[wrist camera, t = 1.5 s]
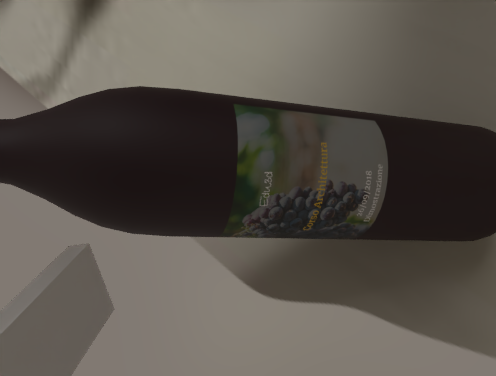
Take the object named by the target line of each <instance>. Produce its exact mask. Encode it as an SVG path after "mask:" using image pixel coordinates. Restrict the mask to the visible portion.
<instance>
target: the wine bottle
mask: <svg viewBox="0 0 496 376" xmlns="http://www.w3.org/2000/svg"><path fill="white" fill-rule="evenodd" d="M0 183H5V184H11V185H14V186H16V187H18V188H21V189H23V190H25V191H28V192H30V193H32V194H34V195H37V196H39V197H41V198H43V199H46V200H47V201H49V202H51V203H53V204H55V205H57V206H58V207H60V208H62V209H64V210H66V211H68V212H70V213H71V214H73V215H75V216H78V217H80V218H82V219H85V220H87V221H90V222H92V223H94V224H97V225H99V226H102V227H106V228H110V229H114V230H119V231H123V232H127V233H132V234H146V235H159V236H189V237H247V238H305V239H363V240H422V241H474V240H478V239H481V238H484V237H488V236H490V235H492V234H494V233H496V133H495V132H493V131H491V130H488V129H485V128H482V127H478V126H470V125H462V124H454V123H446V122H438V121H430V120H422V119H414V118H406V117H398V116H390V115H382V114H374V113H366V112H358V111H350V110H342V109H334V108H326V107H318V106H310V105H302V104H294V103H286V102H278V101H270V100H262V99H254V98H246V97H238V96H230V95H222V94H214V93H206V92H198V91H190V90H182V89H170V88H156V87H141V86H139V87H128V88H117V89H107V90H104V91H100V92H96V93H93V94H89V95H85V96H81V97H78V98H76V99H73V100H71V101H68V102H65V103H63V104H60V105H58V106H55V107H53V108H50V109H47V110H44V111H40V112H37V113H34V114H31V115H27V116H23V117H20V118H16V119H0Z"/></svg>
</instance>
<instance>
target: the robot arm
mask: <svg viewBox="0 0 496 376" xmlns="http://www.w3.org/2000/svg"><path fill="white" fill-rule="evenodd" d="M113 310H114V307H113V304H112V301H111V299H110V297H109V294H108V292H107V289H106V286H105V283H104V281H103V278H102V276H101V273H100V271H99V268H98V265H97V263H96V260H95V258H94V255H93V253H92V250H91V248H90V245H89V244H81V245H74V246H68V248H66V249H65V251H63V252H62V253H61V254H60V255H59V256H58V257H57V258H56V259H55V260H54V261H53V262H52V263H50V264H49V265H48V266H47V267H46V268H45V269H44V270H43V271H42V272H41V273H40V274H39V275H38V276H37V277H36V278H35V279H34V280H33V281H32V282H31V283H29V284H28V285H27V286H26V287H25V288H24V289H23V290H22V291H21V292H20V293H19V294H18V295H17V296H16V297H15V298H14V299H13V300H11V302H9V303H8V304H7V305H6V306H5V307H4V308H3V309H2V310H1V311H0V376H71V375H72V374H73V372H74V371H75V369H76V367H77V366H78V364H79V363H80V361H81V360H82V358H83V357H84V355H85V354H86V352H87V350H88V349H89V347H90V346H91V344H92V343H93V341H94V340H95V338H96V337H97V335H98V333H99V332H100V330H101V329H102V327H103V326H104V324H105V323H106V321H107V320H108V318H109V317H110V315H111V313H112V312H113Z"/></svg>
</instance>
